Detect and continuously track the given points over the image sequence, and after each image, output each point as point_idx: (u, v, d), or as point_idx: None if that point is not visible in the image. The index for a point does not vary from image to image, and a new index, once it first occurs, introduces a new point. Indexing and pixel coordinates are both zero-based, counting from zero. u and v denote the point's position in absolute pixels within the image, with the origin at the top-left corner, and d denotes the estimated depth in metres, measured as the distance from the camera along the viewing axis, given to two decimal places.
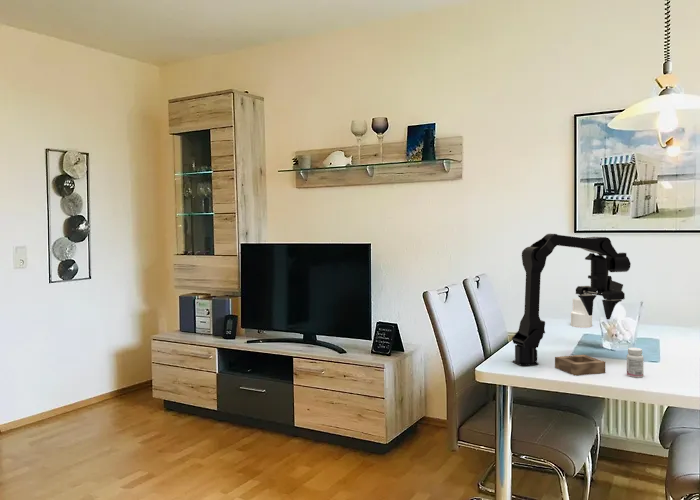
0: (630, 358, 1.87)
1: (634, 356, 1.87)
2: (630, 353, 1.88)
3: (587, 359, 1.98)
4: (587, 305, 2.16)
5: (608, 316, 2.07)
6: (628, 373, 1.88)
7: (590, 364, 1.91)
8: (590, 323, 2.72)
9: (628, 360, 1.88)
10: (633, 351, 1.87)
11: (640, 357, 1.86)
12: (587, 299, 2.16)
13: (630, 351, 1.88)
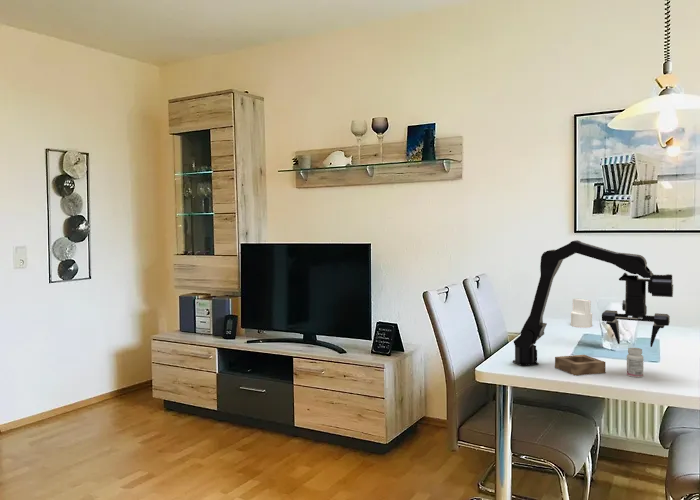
0: (630, 358, 1.87)
1: (634, 356, 1.87)
2: (630, 353, 1.88)
3: (587, 359, 1.98)
4: (618, 333, 1.90)
5: None
6: (628, 373, 1.88)
7: (590, 364, 1.91)
8: (590, 323, 2.72)
9: (628, 360, 1.88)
10: (633, 351, 1.87)
11: (640, 357, 1.86)
12: (617, 326, 1.90)
13: (630, 351, 1.88)
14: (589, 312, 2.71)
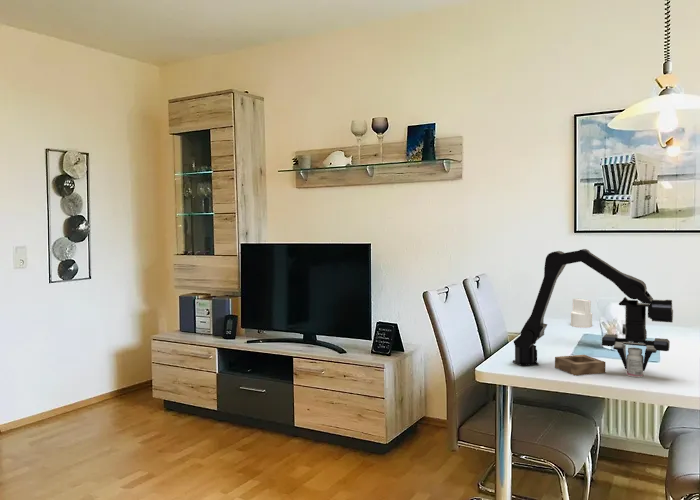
0: (630, 358, 1.87)
1: (634, 356, 1.87)
2: (630, 353, 1.88)
3: (587, 359, 1.98)
4: (625, 358, 1.89)
5: (645, 367, 1.87)
6: (628, 373, 1.88)
7: (590, 364, 1.91)
8: (590, 323, 2.72)
9: (628, 360, 1.88)
10: (633, 351, 1.87)
11: (640, 357, 1.86)
12: (624, 351, 1.89)
13: (630, 351, 1.88)
14: (589, 312, 2.71)
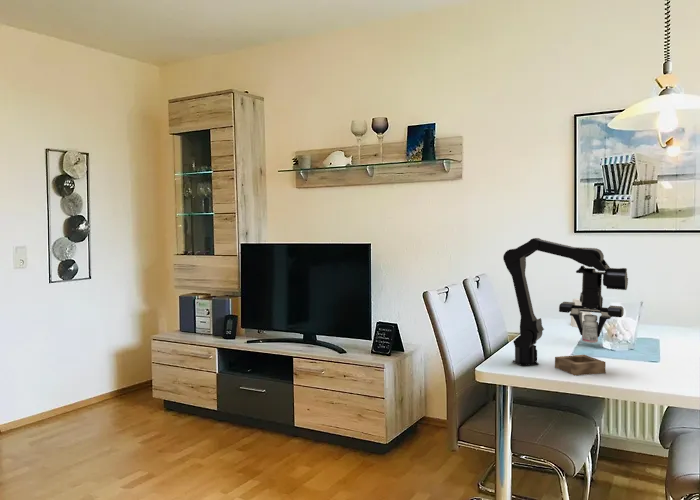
0: (585, 324, 1.93)
1: (589, 322, 1.92)
2: (586, 319, 1.93)
3: (587, 359, 1.98)
4: (581, 324, 1.95)
5: None
6: (583, 339, 1.94)
7: (590, 364, 1.91)
8: None
9: (583, 326, 1.94)
10: (588, 317, 1.93)
11: (595, 323, 1.92)
12: (580, 317, 1.95)
13: (586, 317, 1.93)
14: (589, 312, 2.71)
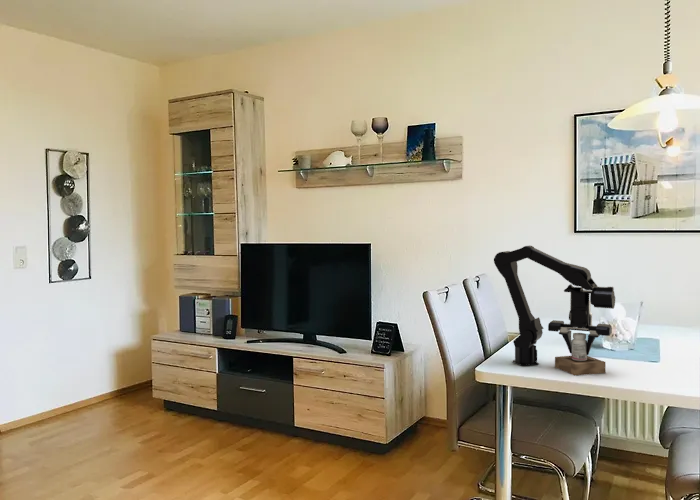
0: (574, 342, 1.95)
1: (578, 340, 1.94)
2: (574, 338, 1.95)
3: (587, 359, 1.98)
4: (570, 343, 1.97)
5: None
6: (572, 357, 1.96)
7: (590, 364, 1.91)
8: None
9: (572, 344, 1.96)
10: (577, 336, 1.94)
11: (584, 341, 1.94)
12: (569, 336, 1.97)
13: (574, 336, 1.95)
14: (589, 312, 2.71)
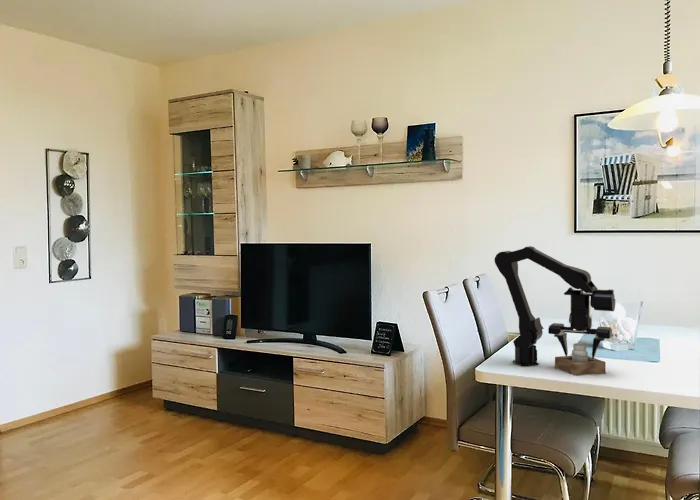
0: (575, 353, 1.95)
1: (578, 351, 1.94)
2: (575, 348, 1.95)
3: None
4: (565, 345, 1.97)
5: (594, 355, 1.94)
6: None
7: (590, 364, 1.91)
8: None
9: (573, 355, 1.96)
10: (577, 346, 1.95)
11: (584, 352, 1.94)
12: (564, 338, 1.98)
13: (575, 346, 1.95)
14: (589, 312, 2.71)
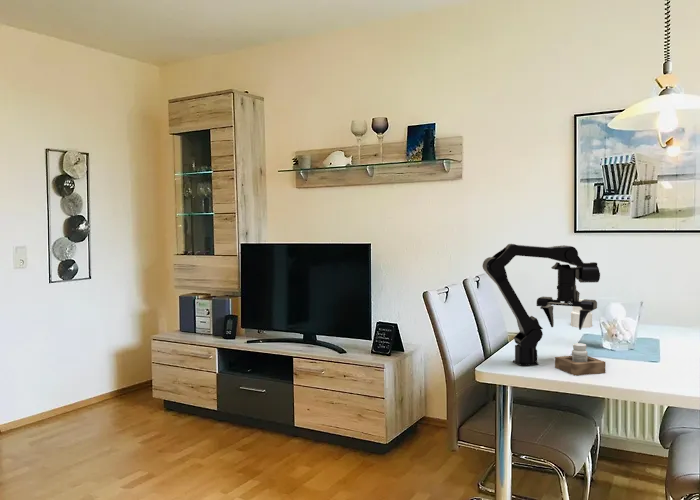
0: (574, 353, 1.95)
1: (578, 351, 1.94)
2: (575, 348, 1.96)
3: (587, 359, 1.98)
4: (551, 317, 2.07)
5: (581, 326, 2.02)
6: None
7: (590, 364, 1.91)
8: (590, 323, 2.72)
9: (573, 355, 1.96)
10: (577, 346, 1.95)
11: (584, 352, 1.94)
12: (550, 311, 2.07)
13: (575, 346, 1.95)
14: (589, 312, 2.71)
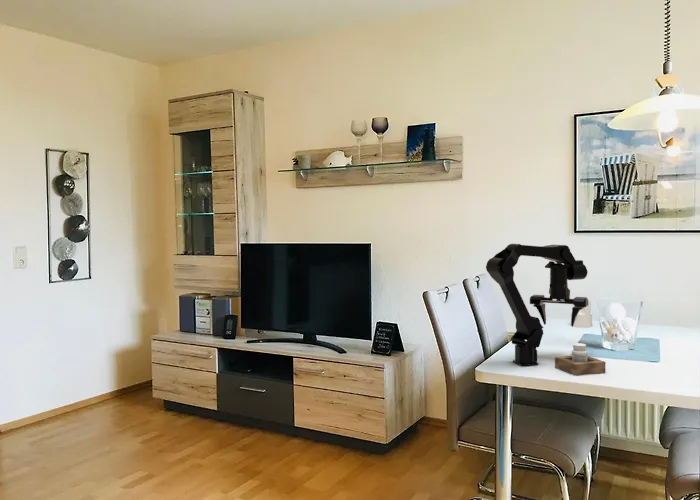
0: (574, 353, 1.95)
1: (578, 351, 1.94)
2: (575, 348, 1.95)
3: (587, 359, 1.98)
4: (543, 314, 2.12)
5: (573, 323, 2.08)
6: None
7: (590, 364, 1.91)
8: (590, 323, 2.72)
9: (573, 355, 1.96)
10: (577, 346, 1.95)
11: (584, 352, 1.94)
12: (543, 308, 2.12)
13: (575, 346, 1.95)
14: (589, 312, 2.71)
